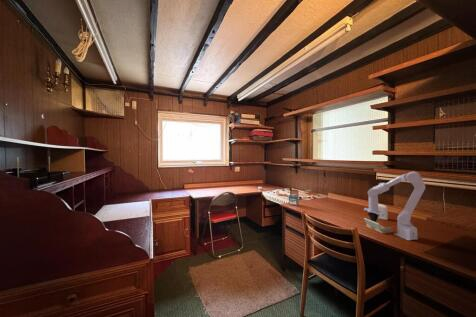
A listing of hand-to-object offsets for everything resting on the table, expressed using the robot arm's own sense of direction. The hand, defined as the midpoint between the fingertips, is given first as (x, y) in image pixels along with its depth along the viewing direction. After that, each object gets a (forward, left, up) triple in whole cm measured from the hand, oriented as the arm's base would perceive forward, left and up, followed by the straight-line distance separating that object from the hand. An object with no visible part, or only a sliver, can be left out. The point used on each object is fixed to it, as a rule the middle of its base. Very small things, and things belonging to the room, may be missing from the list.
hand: (373, 222), depth 135 cm
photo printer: (+18, -25, -5) cm, 31 cm away
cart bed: (0, -4, -5) cm, 6 cm away
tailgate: (0, 0, -3) cm, 3 cm away
